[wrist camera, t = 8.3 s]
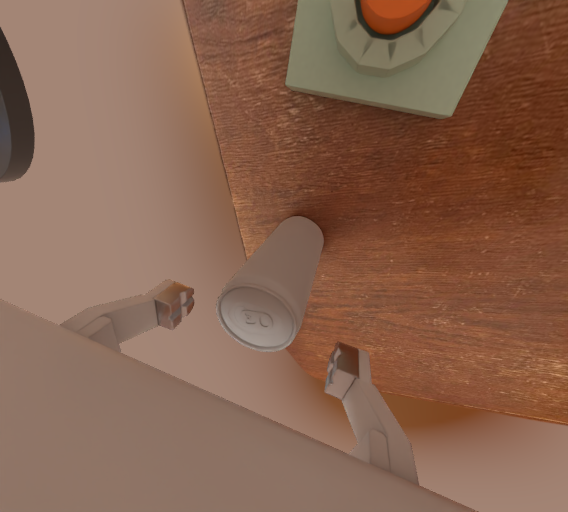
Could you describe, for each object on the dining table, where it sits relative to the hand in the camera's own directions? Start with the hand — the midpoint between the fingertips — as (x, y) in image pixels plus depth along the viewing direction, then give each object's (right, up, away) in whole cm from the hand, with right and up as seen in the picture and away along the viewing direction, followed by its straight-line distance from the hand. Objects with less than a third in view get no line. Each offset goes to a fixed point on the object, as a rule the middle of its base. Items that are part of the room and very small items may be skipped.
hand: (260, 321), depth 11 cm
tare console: (+8, +18, +2) cm, 20 cm away
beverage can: (+3, +5, +10) cm, 12 cm away
